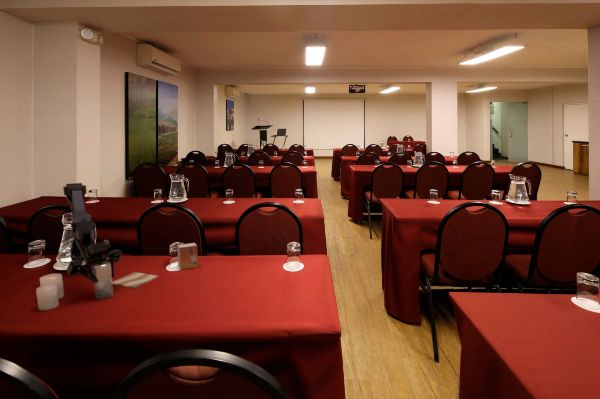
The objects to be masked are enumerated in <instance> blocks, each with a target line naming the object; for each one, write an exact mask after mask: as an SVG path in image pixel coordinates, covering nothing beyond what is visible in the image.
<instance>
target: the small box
mask: <svg viewBox="0 0 600 399" xmlns="http://www.w3.org/2000/svg"><path fill="white" fill-rule="evenodd" d="M176 247H177V265H178V266H177V267H178V268H179V270H188V269H195V268H199V263H198V262H199V260H198V258H199V256H198V245H197V244H196V243H195V242H191V243H183V244H182V243H181V244H177V245H176Z"/></svg>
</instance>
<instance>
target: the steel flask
mask: <svg viewBox="0 0 600 399" xmlns="http://www.w3.org/2000/svg"><path fill="white" fill-rule="evenodd" d="M92 268H93V270H92V272H93V274H94V276H95V277H96V280H97V283H94V282H93V285H94V294H95V295H94V296H95V299H97V300H105V299H109V298H111V297H113V296H114V286H113V285H114V284H112V282H113V278H112V272H111V262H106V261H104V262H98V263H95V264H93V265H92Z"/></svg>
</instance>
